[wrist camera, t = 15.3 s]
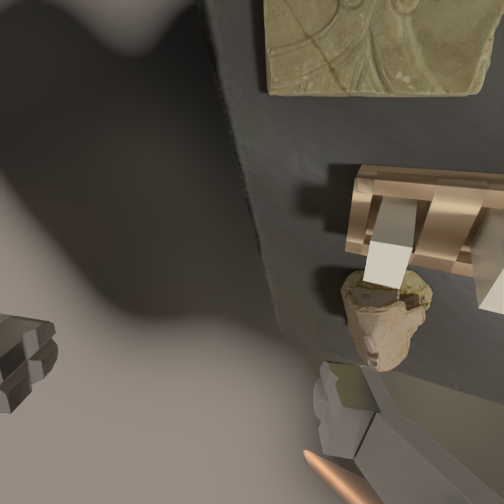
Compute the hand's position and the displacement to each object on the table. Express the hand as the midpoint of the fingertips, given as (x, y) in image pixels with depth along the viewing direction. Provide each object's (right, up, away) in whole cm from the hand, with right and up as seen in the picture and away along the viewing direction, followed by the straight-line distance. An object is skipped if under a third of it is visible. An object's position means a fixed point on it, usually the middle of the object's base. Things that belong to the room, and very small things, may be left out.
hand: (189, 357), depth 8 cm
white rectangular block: (+17, +7, +20) cm, 27 cm away
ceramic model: (+21, -4, +30) cm, 36 cm away
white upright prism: (+24, +5, +16) cm, 30 cm away
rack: (+21, +7, +19) cm, 29 cm away
